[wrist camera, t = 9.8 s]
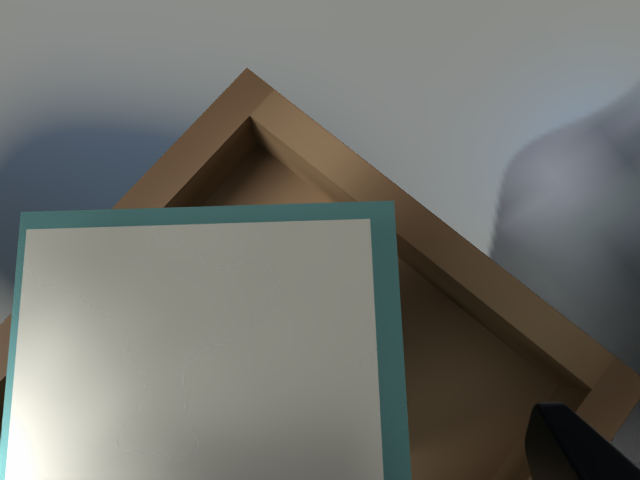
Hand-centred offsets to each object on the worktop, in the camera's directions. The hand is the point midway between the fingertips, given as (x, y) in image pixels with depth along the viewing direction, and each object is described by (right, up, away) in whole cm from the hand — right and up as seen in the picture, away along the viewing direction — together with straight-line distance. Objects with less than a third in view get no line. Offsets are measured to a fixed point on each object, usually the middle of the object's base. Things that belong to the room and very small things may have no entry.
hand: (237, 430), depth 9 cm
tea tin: (0, -1, +7) cm, 7 cm away
